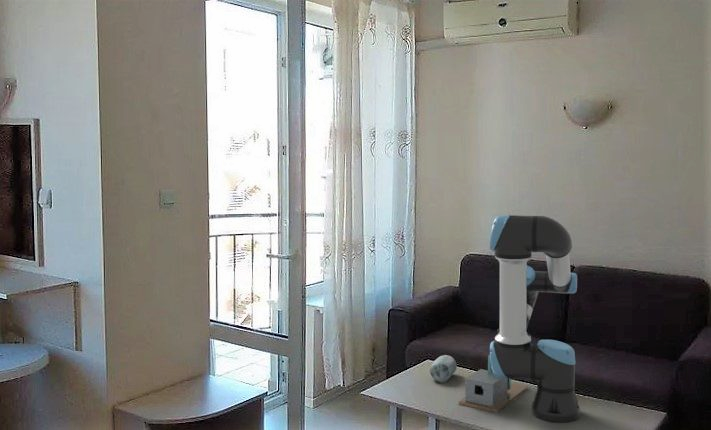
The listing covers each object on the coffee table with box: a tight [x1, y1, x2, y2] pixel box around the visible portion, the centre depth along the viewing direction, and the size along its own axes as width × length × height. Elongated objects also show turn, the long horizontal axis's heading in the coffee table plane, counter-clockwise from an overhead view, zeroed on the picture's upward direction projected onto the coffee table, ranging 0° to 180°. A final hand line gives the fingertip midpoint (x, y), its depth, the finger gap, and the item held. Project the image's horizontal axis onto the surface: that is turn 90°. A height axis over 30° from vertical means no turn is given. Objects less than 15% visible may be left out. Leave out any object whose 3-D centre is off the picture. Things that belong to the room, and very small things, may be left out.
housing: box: [458, 368, 529, 414], centre depth 244 cm, size 27×14×9 cm, turn 145°
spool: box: [429, 354, 458, 383], centre depth 263 cm, size 14×10×10 cm
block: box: [480, 354, 512, 391], centre depth 242 cm, size 14×8×11 cm, turn 145°
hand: (501, 372), depth 249 cm, fingers closed
